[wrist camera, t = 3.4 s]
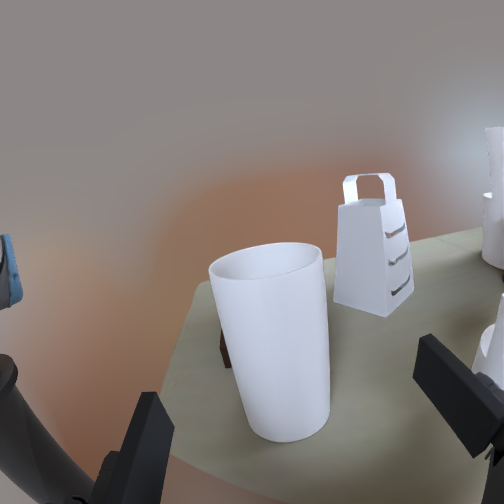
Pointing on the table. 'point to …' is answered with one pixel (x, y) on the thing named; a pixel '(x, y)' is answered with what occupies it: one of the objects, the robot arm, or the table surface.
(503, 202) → the cylinder
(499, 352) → the base with upright slab
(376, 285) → the grater
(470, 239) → the table surface
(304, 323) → the cup
